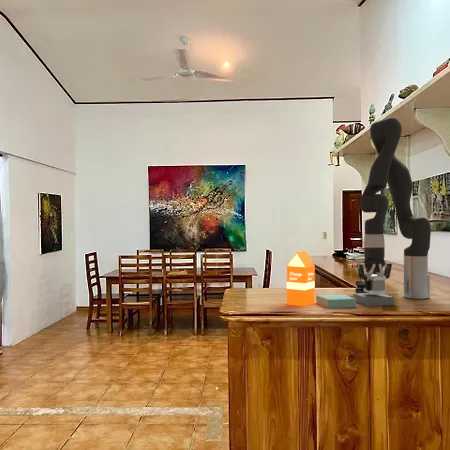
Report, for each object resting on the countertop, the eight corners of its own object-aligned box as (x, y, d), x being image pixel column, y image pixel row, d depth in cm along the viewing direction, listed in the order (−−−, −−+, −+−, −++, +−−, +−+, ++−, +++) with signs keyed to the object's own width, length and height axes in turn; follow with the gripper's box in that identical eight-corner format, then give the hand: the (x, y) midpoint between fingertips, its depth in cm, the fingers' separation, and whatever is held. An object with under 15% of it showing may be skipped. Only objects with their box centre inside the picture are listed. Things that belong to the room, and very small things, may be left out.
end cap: (375, 299, 195) (375, 282, 195) (357, 298, 196) (357, 282, 196) (372, 295, 205) (372, 279, 205) (355, 295, 206) (355, 279, 206)
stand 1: (342, 301, 188) (342, 294, 188) (356, 306, 178) (356, 298, 177) (316, 302, 186) (316, 295, 186) (328, 307, 175) (328, 299, 175)
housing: (363, 291, 189) (363, 274, 189) (375, 290, 190) (375, 274, 190) (374, 294, 181) (373, 277, 181) (386, 293, 182) (386, 276, 182)
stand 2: (379, 300, 193) (379, 292, 192) (394, 304, 182) (394, 297, 182) (353, 301, 190) (353, 293, 190) (367, 305, 180) (367, 297, 179)
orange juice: (286, 304, 183) (286, 251, 183) (296, 301, 190) (296, 250, 190) (305, 306, 178) (305, 252, 178) (315, 303, 186) (315, 251, 186)
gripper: (385, 245, 191) (386, 288, 191) (352, 246, 188) (352, 289, 188) (396, 246, 183) (396, 290, 184) (361, 247, 180) (362, 292, 181)
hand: (374, 289), depth 186 cm, fingers closed on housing, 5 cm apart
